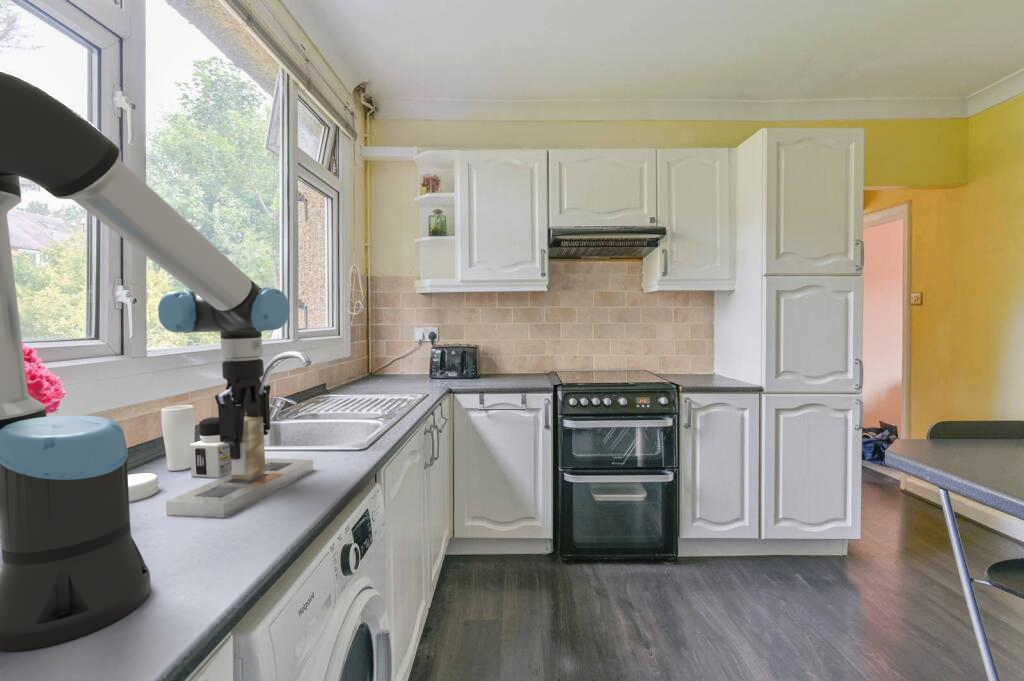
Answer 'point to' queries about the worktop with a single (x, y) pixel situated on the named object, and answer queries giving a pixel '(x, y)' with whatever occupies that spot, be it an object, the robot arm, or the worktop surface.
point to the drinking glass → (178, 435)
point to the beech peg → (253, 448)
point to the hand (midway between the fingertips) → (248, 469)
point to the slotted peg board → (237, 490)
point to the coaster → (142, 486)
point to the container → (210, 452)
